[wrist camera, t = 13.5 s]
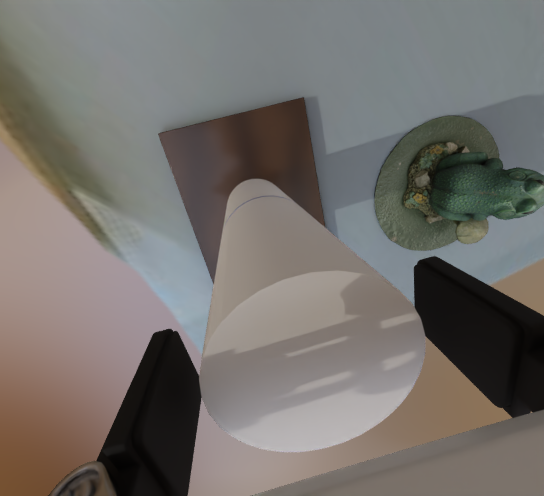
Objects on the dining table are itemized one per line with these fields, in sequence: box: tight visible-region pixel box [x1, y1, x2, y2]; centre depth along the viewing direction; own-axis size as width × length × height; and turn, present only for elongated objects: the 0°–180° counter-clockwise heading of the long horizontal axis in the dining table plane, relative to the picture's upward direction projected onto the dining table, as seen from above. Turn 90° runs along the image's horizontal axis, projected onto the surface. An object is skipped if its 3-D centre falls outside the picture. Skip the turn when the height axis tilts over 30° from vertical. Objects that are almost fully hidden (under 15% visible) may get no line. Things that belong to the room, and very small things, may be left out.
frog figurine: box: [375, 116, 544, 251], centre depth 30 cm, size 18×18×12 cm
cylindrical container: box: [199, 179, 425, 452], centre depth 20 cm, size 7×7×25 cm
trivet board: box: [158, 97, 325, 284], centre depth 32 cm, size 16×21×2 cm
